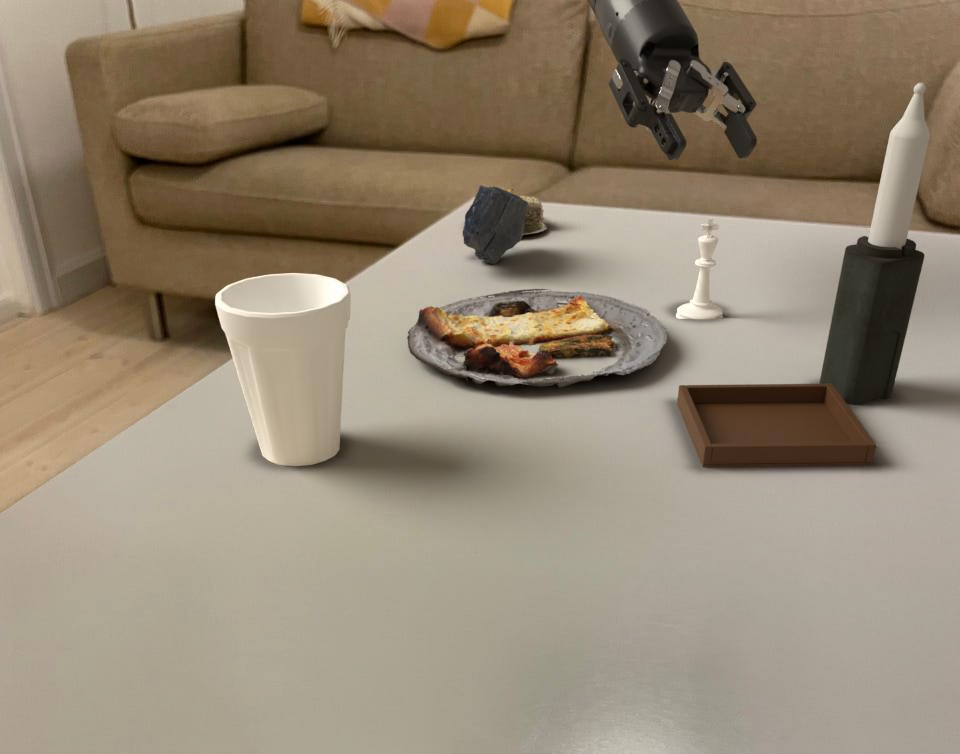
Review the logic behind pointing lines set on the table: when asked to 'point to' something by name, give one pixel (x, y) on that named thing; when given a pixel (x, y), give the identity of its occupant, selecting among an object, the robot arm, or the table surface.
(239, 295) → the cup
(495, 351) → the food plate
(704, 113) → the robot arm
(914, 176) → the candle
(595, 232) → the table surface
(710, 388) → the serving tray
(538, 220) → the cake
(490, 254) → the stone
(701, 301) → the chess piece
